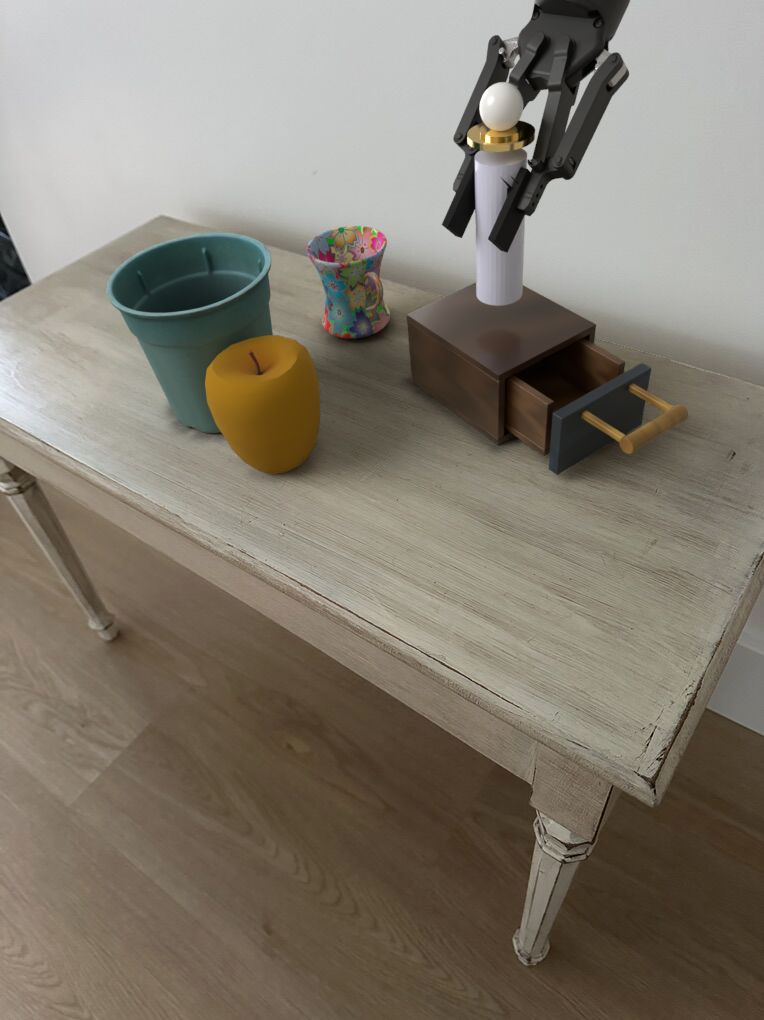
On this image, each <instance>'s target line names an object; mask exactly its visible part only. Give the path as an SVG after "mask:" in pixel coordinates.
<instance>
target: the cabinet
mask: <svg viewBox="0 0 764 1020" xmlns="http://www.w3.org/2000/svg"><path fill="white" fill-rule="evenodd" d="M406 325H407V336H408V337H407V339H408V352H409V360H410V361H409V362H410V375H411V382H412V383H413V384H415V385H416V386H417V387H419V388H420V389H421V390H423V391H424V392H425V393H427V394H428V395H429V396H431V397H432V398H433V399H435V400H436V401H437V402H439V403H440V404H442V405H443V406H444V407H445V408H446V409H448V410H449V411H451V412H452V413H454V414H455V415H456V416H457V417H459V418H460V419H462V420H463V421H464V422H466V423H467V424H469V425H470V426H471V427H472V428H473V429H475V430H476V431H478V432H479V433H481V434H482V435H483V436H485V437H486V438H488V439H489V440H490V441H492V443H494V444H495V445H497V446H500V445H501V444H503V443H505V442H506V441H509V440H510V439H512V438H514V437H516V436H515V435H513V434H512V433H511V432H509V431H508V430H506V429H505V428H504V406H505V379H506V378H508V377H510V376H511V375H513V374H515V373H517V372H519V371H521V370H523V369H525V368H527V367H528V366H530V365H532V364H534V363H536V362H538V361H540V360H542V359H544V358H546V357H547V356H549V355H551V354H553V353H555V352H557V351H559V350H561V349H563V348H564V347H566V346H568V345H570V344H572V343H574V342H576V341H578V340H580V339H582V338H585V339H586V340H588V341H590V342H592V343H594V344H595V340H596V339H595V338H596V331H597V324H596V323H595V322H593V321H590V320H589V319H587V318H585V317H583V316H581V315H579V314H578V313H576V312H574V311H572V310H570V309H568V308H566V307H564V306H563V305H561V304H559V303H557V302H555V301H553V300H552V299H550V298H548V297H546V296H544V295H542V294H540V293H539V292H536V291H535V290H533V289H531V288H529V287H528V286H526V285H524V284H523V292H522V296H521V298H520V299H519V300H517V301H516V302H514V303H511V304H508V305H501V306H495V305H489V304H485V303H483V302H481V301H480V300H479V299H478V298H477V296H476V282H473V283H472V284H469V285H467V286H465V287H463V288H460V289H458V290H456V291H454V292H452V293H450V294H448V295H446V296H443V297H441V298H439V299H437V300H435V301H433V302H430V303H428V304H426V305H423V306H422V307H420V308H417V309H416V310H413V311H411V312H409V313H407V314H406Z"/></svg>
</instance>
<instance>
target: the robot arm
mask: <svg viewBox="0 0 764 1020" xmlns="http://www.w3.org/2000/svg"><path fill="white" fill-rule="evenodd" d="M630 3H631V0H534V3H533V8H532V10H533V11H532V14H531V17H530V19H529V21H528V22H527V24H526V25H525V26H524V27H523V28H522V29H521V30H520V32H519V33H518V36H516V37H512V38H508V39H507V38H506V39H504V40H503V39H502V38H501V36H500V35H499V34H494V35H492V36H491V37H490V38H489V40H488V43H487V50H486V57H485V62H484V65H483V67H482V69H481V72H480V74H479V76H478V78H477V81H476V84H475V86H474V88H473V90H472V93H471V96H470V97H469V100H468V102H467V104H466V107H465V109H464V111H463V114H462V116H461V119H460V120H459V123H458V125H457V128H456V131H455V132H454V134H453V138H452V139H453V142H454V144H456V145H457V146H458V148H460V150H461V151H462V152H463V153H464V159H463V161H462V164H461V165H460V167H459V170H458V173H456V174H457V175H456V177H455V178H454V181H453V184H452V191H454V193H455V194H454V196H453V198H452V201H451V202H450V205H449V207H448V210H447V212H446V214H445V216H444V218H443V220H442V223H441V226H442V227H444V229H446V230H447V231H449V232H450V233H451V234H452V235H454V236H455V237H456V238H460V239H462V238H463V237H464V235H465V233H466V230H467V228H468V225H469V223H470V221H471V219H472V217H473V214H474V213H475V155H476V153H478V152H479V151H481V150H477V149H475V148H472V147H471V146H470V145H469V144H468V142H467V133H468V131H469V129H471V128H472V127H474V126H476V125H478V124H480V123H483V121H482V119H481V116H480V110H479V107H480V101H481V98H482V96H483V94H484V92H485V91H486V90H487V89H488V88H489V87H490V86H491V85H493V84H495V83H499V82H507V83H510V84H512V85H514V86H515V87H516V88H517V89H518V90H519V91H520V93H521V96H522V99H523V111H524V110H525V109H526V107H527V105H528V104H529V103H530V102H533V101H535V100H536V98H537V97H538V95H539V94H540V93H541V91H547V90H548V91H547V97H546V100H545V105H544V109H543V114H542V117H541V121H540V126H539V129H538V134H537V138H536V141H535V145H534V148H533V149H534V150H533V154H532V158H530V159H528V158H527V166H529V167H530V168H531V170H530V169H528V168H527V169H526V168H522V167H521V168H520V169H519V172H518V174H517V176H516V178H515V180H516V181H517V182H518V183H517V184H516V182H515V181H514V183H513V185H512V187H514V186H515V187H514V188H513V189H512V190H511V191H510V192H509V193H508V196H507V198H506V200H505V202H504V204H503V207H502V209H501V211H500V213H499V215H498V218H497V220H496V222H495V224H494V226H493V229H492V231H491V233H490V235H489V237H488V240H489V241H490V242H491V243H493V244H494V245H495V246H496V247H497V248H498V249H499V250H501V251H503V252H507V253H508V250H509V248H510V246H511V244H512V242H513V240H514V238H515V235H516V233H517V231H518V229H519V227H520V225H521V222H522V220H523V218H524V216H525V217H526V216H528V217H531V216H532V215H533V214H534V213H535V212H536V210H537V208H538V205H539V203H540V201H541V198H542V197H543V195H544V193H545V190H546V188H547V186H548V184H549V183H550V182H552V181H554V180H557V179H563V180H565V181H570V180H572V178H574V176H575V175H576V173H577V172H578V169H579V167H580V165H581V163H582V160H583V158H584V157H585V154H586V153H587V150H588V148H589V146H590V143H591V142H592V140H593V138H594V136H595V133H596V131H597V129H598V127H599V125H600V123H601V122H602V121H601V120H602V119H603V117H604V114H605V112H606V110H607V108H608V107H609V104H610V102H611V100H612V99H613V97H614V95H615V94H616V93H617V92H618V91H619V89H620V88H621V87H622V86H623V85H624V83H626V81H627V80H628V79H629V77H630V70H629V69H628V66H627V65H626V63H625V61H624V59H623V57H622V55H621V53H619V52H615V51H614V52H610V51H609V44H610V42H611V41H612V40H613V38H614V37H615V35H616V32H617V30H618V29H619V27H620V24H621V22H622V21H623V18H624V15H625V14H626V11H627V9H628V7H629V5H630ZM518 57H519V59H518V61H517V62H516V63H515V61H516V58H518ZM510 70H511V72H510ZM591 73H593V75H592V76H591V78H590V79H589V81H588V83H587V86H586V87H585V90H584V91H583V94H582V96H581V98H580V101H579V102H578V104H577V106H576V109H575V110H574V113H573V115H572V117H571V119H570V121H569V118H570V114H571V110H572V107H574V106H575V104H576V100H577V97H578V93H579V89H580V86H581V82H582V81H584V79H586V78H587V77H588V76H589V75H590V74H591ZM568 122H569V124H568ZM520 173H521V174H522V175H523V176H521V174H520Z"/></svg>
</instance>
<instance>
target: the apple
mask: <svg viewBox="0 0 764 1020" xmlns="http://www.w3.org/2000/svg"><path fill="white" fill-rule="evenodd" d="M319 381H320V380H319V377H318V374H317V371H316V366H315V362H314V360H313V357H312V355H311V354H310V352H309V350H308V349H307V348H306V347H305V346H304V345H303V344H301V342H299V341H298V340H296V339H294V338H290V337H286V336H283V335H280V334H279V335H278V334H273V335H265V336H260V337H254V338H250V339H247V340H244V341H241V342H238V343H235V344H232V345H230V346H229V347H228V348H226V349H225V350H223V351H222V352H221V353H220V354H219V355H217V357H216V358H215V359H214V360H213V362H212V363H211V364H210V365H209V367H208V368H207V371H206V379H205V388H206V396H207V403H208V406H209V408H210V411H211V413H212V415H213V418H214V420H215V423H216V425H217V426H218V428H219V430H220V431H221V432H220V433H221V435H222V436H223V437H224V439H225V440H226V442H227V444H228V445H229V446H230V448H231V450H232V451H233V452H234V454H235V455H236V456H238V458H239V459H241V461H242V462H244V463H245V464H246V465H248V466H249V467H251V468H253V469H255V470H257V471H259V472H262V473H265V474H268V475H269V474H270V475H276V474H281V473H282V474H283V473H287V472H289V471H291V470H293V469H295V468H297V467H300V465H302V464H303V463H304V462H305V461H306V460H308V458H309V456H310V455H311V454H312V452H313V449H314V448H315V447H316V443H317V439H318V436H319V431H320V421H321V387H320V382H319Z"/></svg>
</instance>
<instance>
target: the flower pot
mask: <svg viewBox="0 0 764 1020" xmlns="http://www.w3.org/2000/svg"><path fill="white" fill-rule="evenodd" d="M271 267H272V255H271V252H270V250H269V248H268V247H267V246H266V245H265V244H264V243H263V242H261V241H259V240H258V239H256V238H254V237H251V236H248V235H244V234H240V233H235V232H206V233H196V234H190V235H185V236H180V237H176V238H173V239H168V240H166V241H162V242H159V243H157V244H153V245H152V246H149V247H147V248H145V249H143V250H141V251H139V252H136V254H134V255H132V256H130V257H129V258H127V259H126V260H125V261H123V262H122V263H121V264H120V265H119V266H118V267H117V268H116V269H115V270H114V272H112V274H111V275H110V277H109V279H108V281H107V282H106V283H107V284H106V288H105V293H106V297H107V299H108V300H109V302H110V303H111V305H112V306H113V307H114V308H115V309H117V310H118V311H119V312H120V314H121V316H122V318H123V320H124V322H125V324H126V326H127V328H128V330H129V332H130V333H131V334H132V335H133V336H134V337H136V339H137V341H138V343H139V345H140V347H141V349H142V351H143V353H144V355H145V357H146V359H147V361H148V364H149V365H150V367H151V369H152V371H153V373H154V375H155V377H156V379H157V381H158V383H159V385H160V387H161V389H162V391H163V393H164V394H163V395H164V396H165V398H166V399H167V402H168V404H169V406H170V408H171V410H172V412H173V414H174V416H175V418H176V420H177V421H178V422H179V423H180V424H181V425H182V426H184V427H185V428H190V427H191V428H194V429H196V430H198V431H199V432H201V433H205V434H206V433H207V434H219V433H221V431H220V430H219V428H218V426H217V425H216V423H215V420H214V418H213V415H212V413H211V411H210V408H209V406H208V403H207V396H206V388H205V379H206V371H207V368H208V367H209V365H210V364H211V363H212V362H213V360H214V359H215V358H216V357H217V355H219V354H220V353H221V352H222V351H223V350H225V349H226V348H228V347H229V346H230V345H232V344H235V343H238V342H241V341H244V340H247V339H250V338H254V337H260V336H265V335H274V333H273V325H272V317H271V308H270V302H271V301H270V300H271V296H272V295H271V285H270V278H269V276H270V275H269V273H270V271H271Z"/></svg>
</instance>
